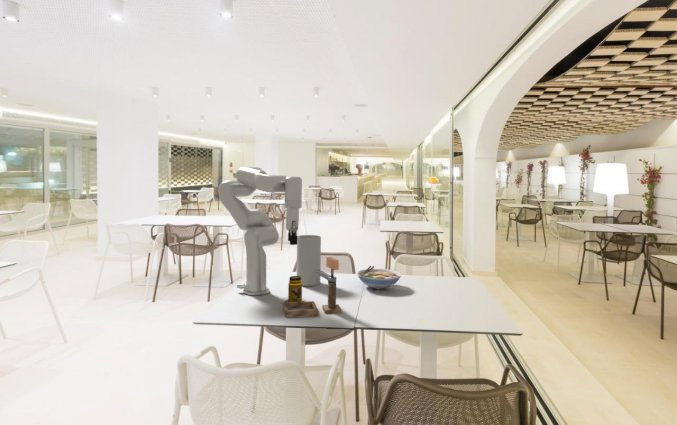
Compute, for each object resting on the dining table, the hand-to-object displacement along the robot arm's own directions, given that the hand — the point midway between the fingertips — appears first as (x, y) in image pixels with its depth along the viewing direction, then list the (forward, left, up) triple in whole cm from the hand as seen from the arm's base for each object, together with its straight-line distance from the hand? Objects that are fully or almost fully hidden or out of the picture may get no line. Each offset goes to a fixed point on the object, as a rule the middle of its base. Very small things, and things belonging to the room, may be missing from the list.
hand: (292, 242), depth 193 cm
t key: (+14, -8, -15) cm, 22 cm away
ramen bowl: (+46, +20, -27) cm, 57 cm away
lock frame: (+8, -14, -27) cm, 32 cm away
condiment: (+1, -1, -27) cm, 27 cm away
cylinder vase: (+11, +32, -27) cm, 43 cm away
